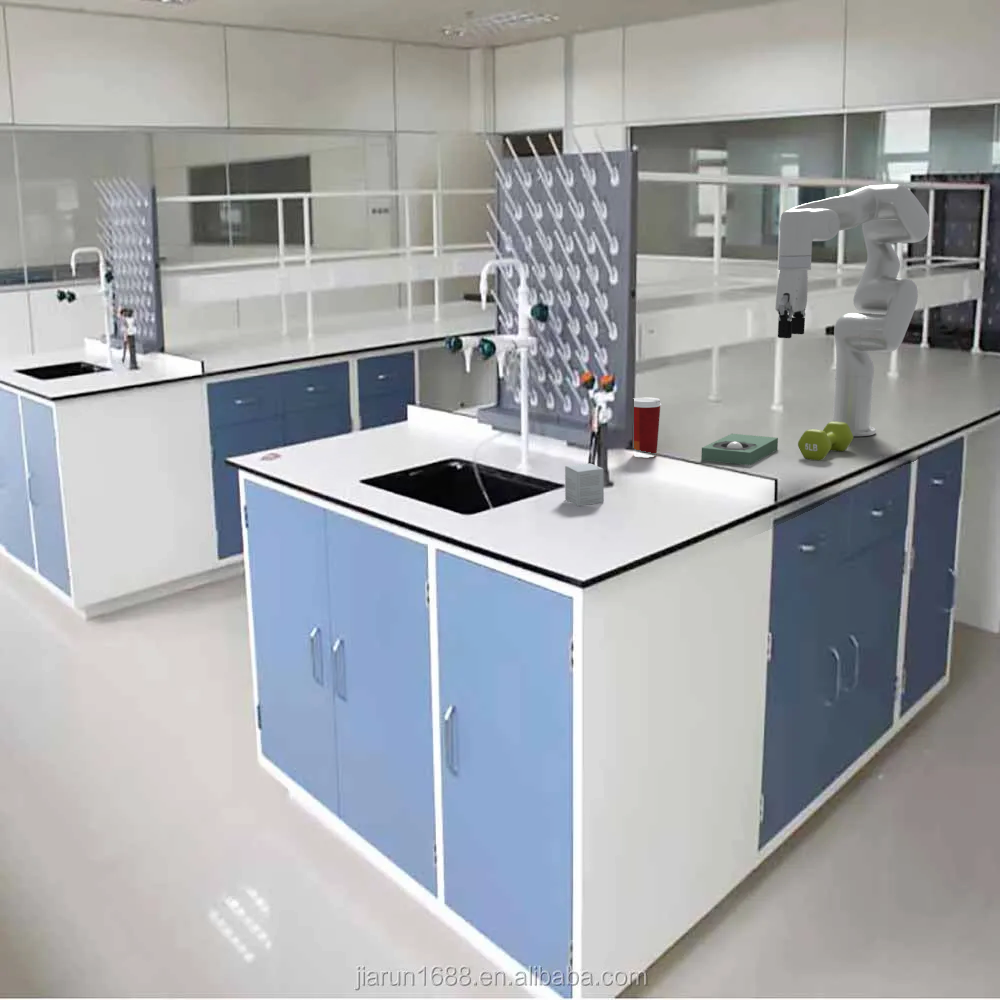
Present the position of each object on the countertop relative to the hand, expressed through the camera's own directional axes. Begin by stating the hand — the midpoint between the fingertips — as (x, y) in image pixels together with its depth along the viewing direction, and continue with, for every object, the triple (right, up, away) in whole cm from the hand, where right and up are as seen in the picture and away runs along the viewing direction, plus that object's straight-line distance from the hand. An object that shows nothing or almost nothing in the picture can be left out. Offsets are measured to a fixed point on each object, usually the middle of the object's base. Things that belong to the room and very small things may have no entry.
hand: (791, 335), depth 257 cm
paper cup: (-35, -29, +4) cm, 46 cm away
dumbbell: (+9, -29, +2) cm, 30 cm away
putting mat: (-12, -29, +3) cm, 31 cm away
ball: (-14, -28, -1) cm, 31 cm away
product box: (-53, -40, -37) cm, 76 cm away
